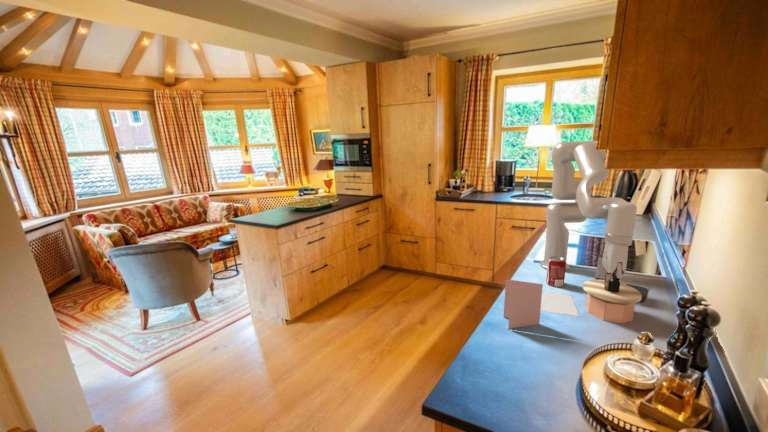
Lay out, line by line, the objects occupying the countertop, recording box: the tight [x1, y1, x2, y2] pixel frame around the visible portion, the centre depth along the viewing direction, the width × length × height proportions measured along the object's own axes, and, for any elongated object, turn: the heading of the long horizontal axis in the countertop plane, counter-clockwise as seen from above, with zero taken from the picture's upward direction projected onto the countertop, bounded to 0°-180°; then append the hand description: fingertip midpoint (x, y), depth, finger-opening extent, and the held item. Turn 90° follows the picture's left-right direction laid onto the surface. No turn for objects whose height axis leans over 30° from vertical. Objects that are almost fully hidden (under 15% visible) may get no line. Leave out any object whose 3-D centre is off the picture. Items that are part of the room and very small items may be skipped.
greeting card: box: [503, 279, 544, 331], centre depth 109 cm, size 11×7×15 cm, turn 66°
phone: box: [625, 283, 648, 303], centre depth 131 cm, size 7×1×15 cm
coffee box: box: [594, 251, 607, 280], centre depth 130 cm, size 9×6×16 cm
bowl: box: [585, 293, 636, 324], centre depth 116 cm, size 13×13×7 cm
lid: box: [582, 274, 642, 304], centre depth 114 cm, size 17×17×6 cm
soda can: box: [545, 256, 567, 288], centre depth 139 cm, size 7×7×12 cm
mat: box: [540, 291, 580, 317], centre depth 125 cm, size 16×16×1 cm
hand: (611, 288), depth 115 cm, fingers closed on lid, 3 cm apart
